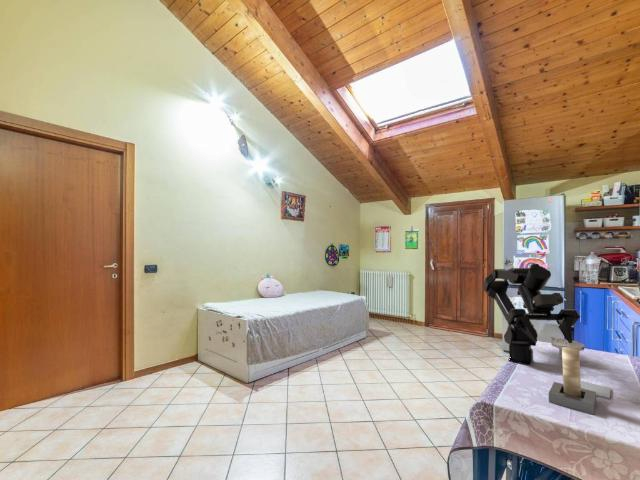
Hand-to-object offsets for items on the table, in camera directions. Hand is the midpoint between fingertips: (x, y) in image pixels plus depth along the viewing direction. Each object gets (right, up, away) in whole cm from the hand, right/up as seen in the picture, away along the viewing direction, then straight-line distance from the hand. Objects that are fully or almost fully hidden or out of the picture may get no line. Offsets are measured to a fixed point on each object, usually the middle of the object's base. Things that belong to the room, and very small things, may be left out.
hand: (553, 342), depth 89 cm
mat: (+10, -13, -2) cm, 16 cm away
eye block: (-1, -13, -8) cm, 16 cm away
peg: (-1, -13, -8) cm, 16 cm away
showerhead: (+21, -14, +21) cm, 32 cm away
